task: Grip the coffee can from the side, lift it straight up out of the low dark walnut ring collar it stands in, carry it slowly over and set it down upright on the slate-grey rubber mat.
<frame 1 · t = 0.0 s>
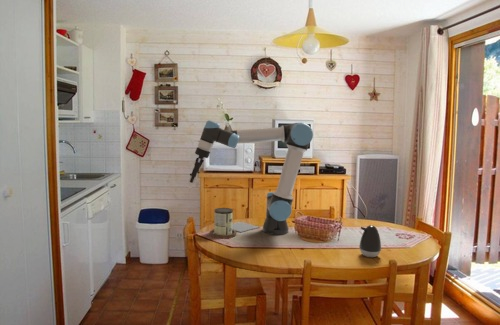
hand: (190, 185, 214), 28 cm above the table, tool tilted 20°, fingers open, 13 cm apart
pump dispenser: (369, 256, 195), on the table
slate mat: (240, 227, 238), on the table
walnut ring collar: (223, 234, 223), on the table
coffee can: (223, 234, 223), resting in walnut ring collar
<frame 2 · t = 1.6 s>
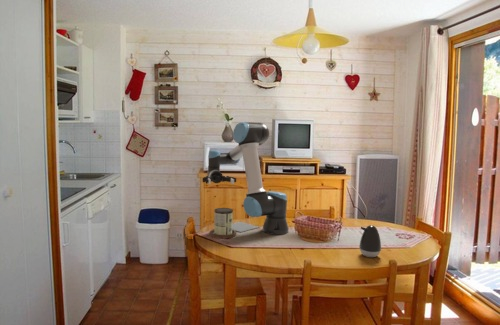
hand: (221, 182, 228), 28 cm above the table, tool horizontal, fingers open, 13 cm apart
nothing on the table moved.
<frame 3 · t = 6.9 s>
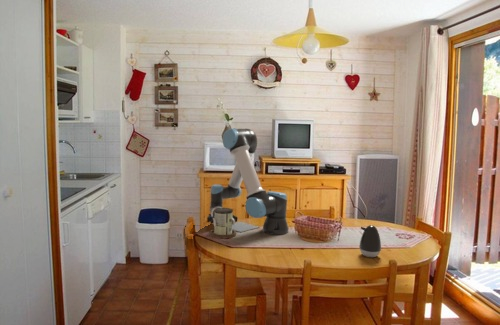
hand: (224, 223, 218), 8 cm above the table, tool horizontal, fingers closed on coffee can, 10 cm apart
coffee can: (223, 234, 223), resting in walnut ring collar, touching gripper
everything else where it was.
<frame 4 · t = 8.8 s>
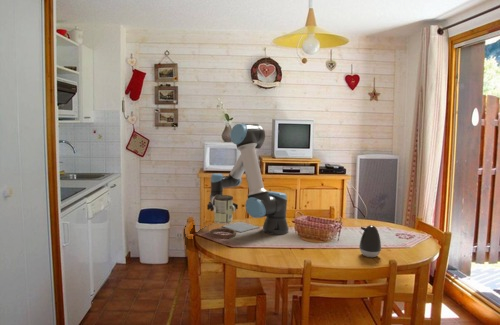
hand: (224, 210, 217), 15 cm above the table, tool horizontal, fingers closed on coffee can, 10 cm apart
coffee can: (223, 222, 222), point 7 cm above the table, touching gripper
everything else where it was.
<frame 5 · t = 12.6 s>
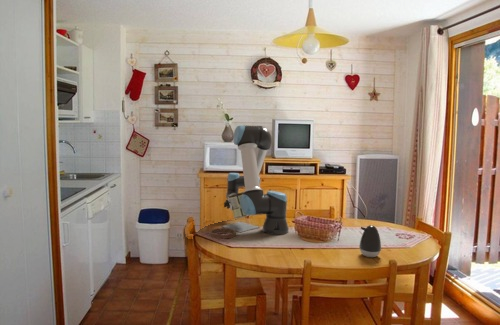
hand: (241, 207, 233), 13 cm above the table, tool horizontal, fingers closed on coffee can, 11 cm apart
coffee can: (243, 217, 235), point 7 cm above the table, touching arm, gripper
everything else where it was.
when the fingers open (9 cm above the table, at t = 13.9 s): coffee can drops 3 cm, resting on arm, slate mat.
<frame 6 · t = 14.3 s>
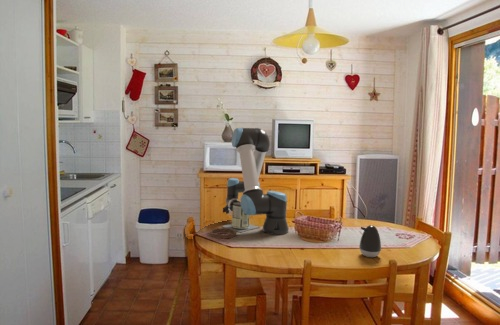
hand: (242, 213, 234), 10 cm above the table, tool horizontal, fingers open, 13 cm apart
coffee can: (239, 227, 236), point 1 cm above the table, touching arm, slate mat
everything else where it was.
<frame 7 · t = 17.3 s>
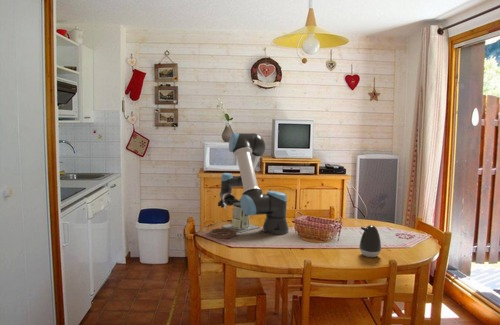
hand: (236, 207, 246), 10 cm above the table, tool horizontal, fingers open, 13 cm apart
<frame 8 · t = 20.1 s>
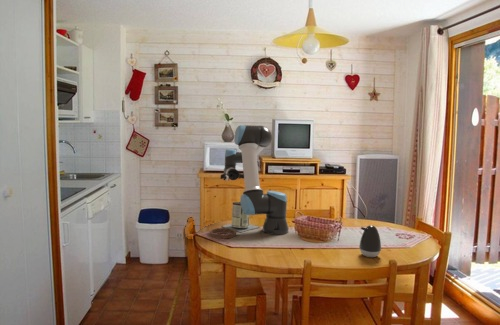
hand: (238, 178, 245), 28 cm above the table, tool horizontal, fingers open, 13 cm apart
at the end: coffee can inside the target area on the slate mat (2.6 cm from its centre), point 1.0 cm above the slate mat's base; coffee can tilted 7°; the gripper is holding nothing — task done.
